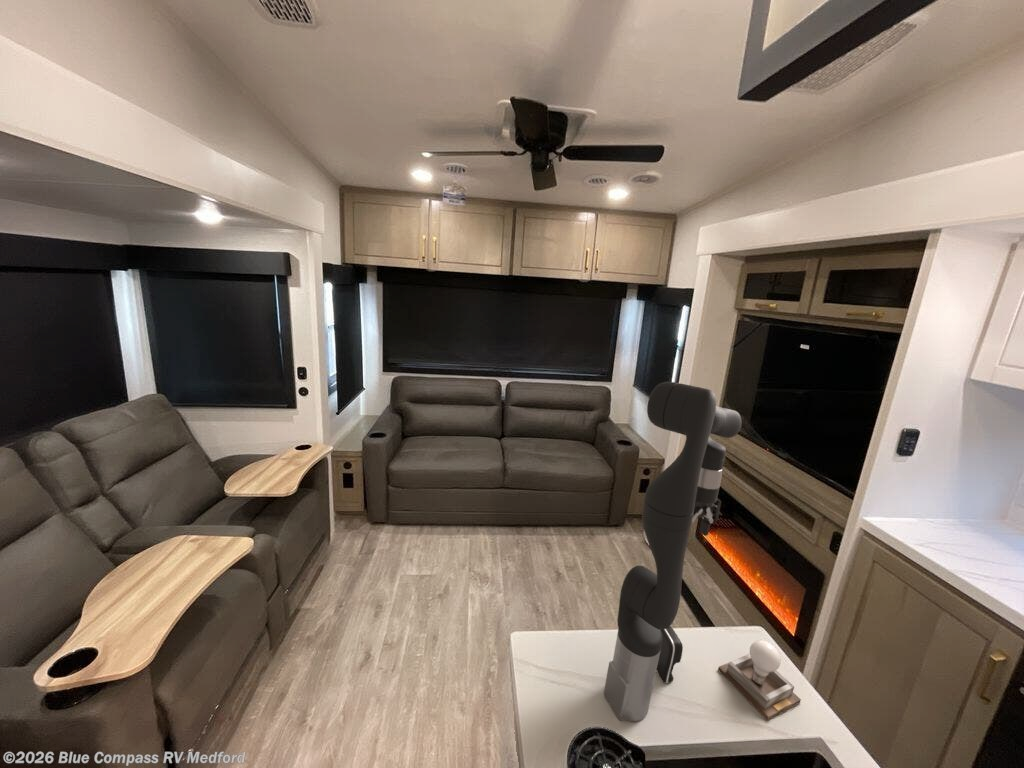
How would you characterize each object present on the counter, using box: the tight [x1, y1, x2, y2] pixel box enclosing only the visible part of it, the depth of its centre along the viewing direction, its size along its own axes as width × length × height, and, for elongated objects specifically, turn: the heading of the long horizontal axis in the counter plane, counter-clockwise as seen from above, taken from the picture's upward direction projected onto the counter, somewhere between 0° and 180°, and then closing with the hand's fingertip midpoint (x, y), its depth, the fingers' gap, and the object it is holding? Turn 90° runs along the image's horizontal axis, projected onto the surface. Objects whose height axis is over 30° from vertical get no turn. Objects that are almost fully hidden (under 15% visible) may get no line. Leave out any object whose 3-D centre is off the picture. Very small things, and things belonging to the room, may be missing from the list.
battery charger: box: [656, 625, 684, 684], centre depth 98 cm, size 7×4×11 cm, turn 7°
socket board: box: [717, 653, 802, 721], centre depth 97 cm, size 12×13×4 cm
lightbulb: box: [749, 639, 781, 685], centre depth 96 cm, size 6×6×11 cm
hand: (692, 536), depth 105 cm, fingers open, 8 cm apart
